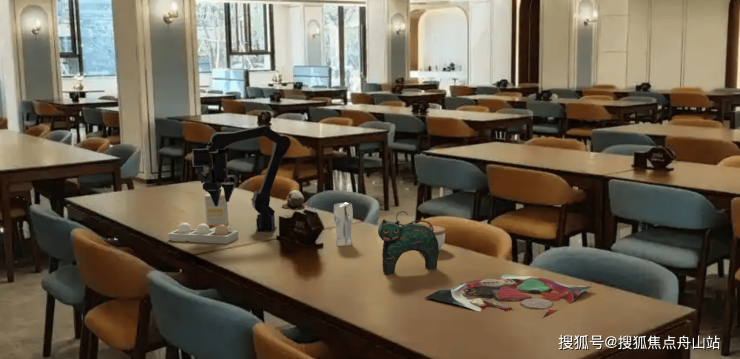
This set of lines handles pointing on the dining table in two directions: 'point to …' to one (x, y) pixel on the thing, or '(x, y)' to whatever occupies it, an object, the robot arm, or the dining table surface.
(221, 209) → the supplement box
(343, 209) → the beer glass
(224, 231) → the brown egg
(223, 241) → the carton
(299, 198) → the skull
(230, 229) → the egg stand
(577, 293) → the platter
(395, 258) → the ceramic cat
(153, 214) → the dining table surface
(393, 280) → the dining table surface
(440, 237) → the lidded jar
